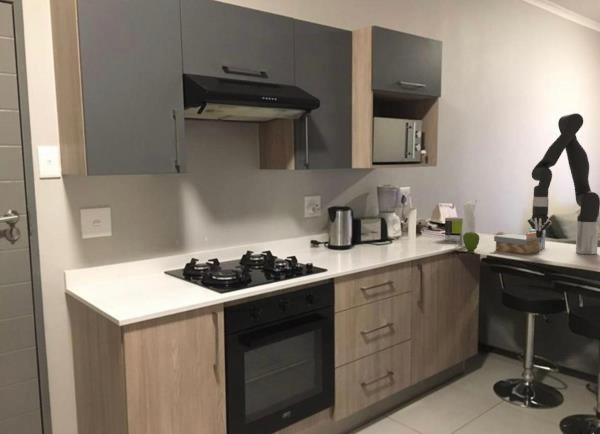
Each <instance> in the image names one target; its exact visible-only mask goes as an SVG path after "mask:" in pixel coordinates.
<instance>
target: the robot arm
mask: <svg viewBox="0 0 600 434" xmlns="http://www.w3.org/2000/svg"><path fill="white" fill-rule="evenodd" d="M557 123H558V124H557V125H558V126H557V127H558V129H559V133H560V134H559V136H558V137H557V138H556V139H555V141H554V142H552V143H551V144H550V145H549V147H548V148H547V150H546V152H545V153H544V155H543V156H542V158H541V160H539V161H538V162H537V164H536V165H535V166H534V167H533V169H532V171H531V178H532V179H533V180H534V181H538V184H537V185H535V186H534V187H533V199H532V210H531V211H532V212H531V213H532V215H531V217H530V219H527V223H529V225H530V227H531V228H532V229H535V230H536V237H537V238H541V237H542V236H543V230H547V229H549V227H550V226H551V225H552V224H553V221H552V220H550V218H549V216H548V215H549V189H550V186H551V182H552V179H553V172H552V169H550V168H551V167H555V166H556V164H557V163H558V160H559V159H560V157H561V155H562V154H563V153H564V151H565V152H566V156H567V160H568V161H567V162H568V166H569V171H570V174H571V178H572V182H573V186H574V196H575V201H576V204H577V206H579V207H580V211H579V214H578V215H577V216H576V217H577V219H576V240H575V241H576V242H575V253H576V254H581V255H596V254H598V243H599V239H598V238H599V236H598V235H597V230H598V229H597V227H598V226H597V225H598V224H597V223H598V219H599V215H600V196H599V194H598V193H596V192H594V191H592V190H591V186H590V181H589V175H590V162H589V157H588V154H587V152H586V150H585V148H583V147H584V146H582V145H581V143H580V142H579V140H578V138H577V135H576V134H577V133H578V132H579V130H581V128H582V127H583V125H584V118H583V116H582V115H581V114H580V113H577V112H576V113H575V112H574V113H569V114H566V115H562V116H561V117H560V118H559V119H558V122H557Z"/></svg>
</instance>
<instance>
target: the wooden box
mask: <svg viewBox="0 0 600 434" xmlns="http://www.w3.org/2000/svg"><path fill="white" fill-rule="evenodd" d="M539 242H540V240H533V241H527V245H519V244H511V243H504V242H496V241H495V251H496V252H504V253H511V254H515V255H516V254H517V255H524V256H527V255H533V254H536V253H537V254H538V253H540V250H539Z"/></svg>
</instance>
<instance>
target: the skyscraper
mask: <svg viewBox="0 0 600 434" xmlns="http://www.w3.org/2000/svg"><path fill="white" fill-rule="evenodd" d="M474 201H475V203H473V199H470V200H468V201H467V202H463V203H462V207H463V208H462V209H463V216H462V217H463V222H462V225H461V232H460V241H459V246H460V247H461V248H466V247H465V244H464V241H463V236H462V234H463V235H464V234H465V233H466V232H474V233H476V217H475V209H476V204H477V201H478V200H477V199H474Z"/></svg>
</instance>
